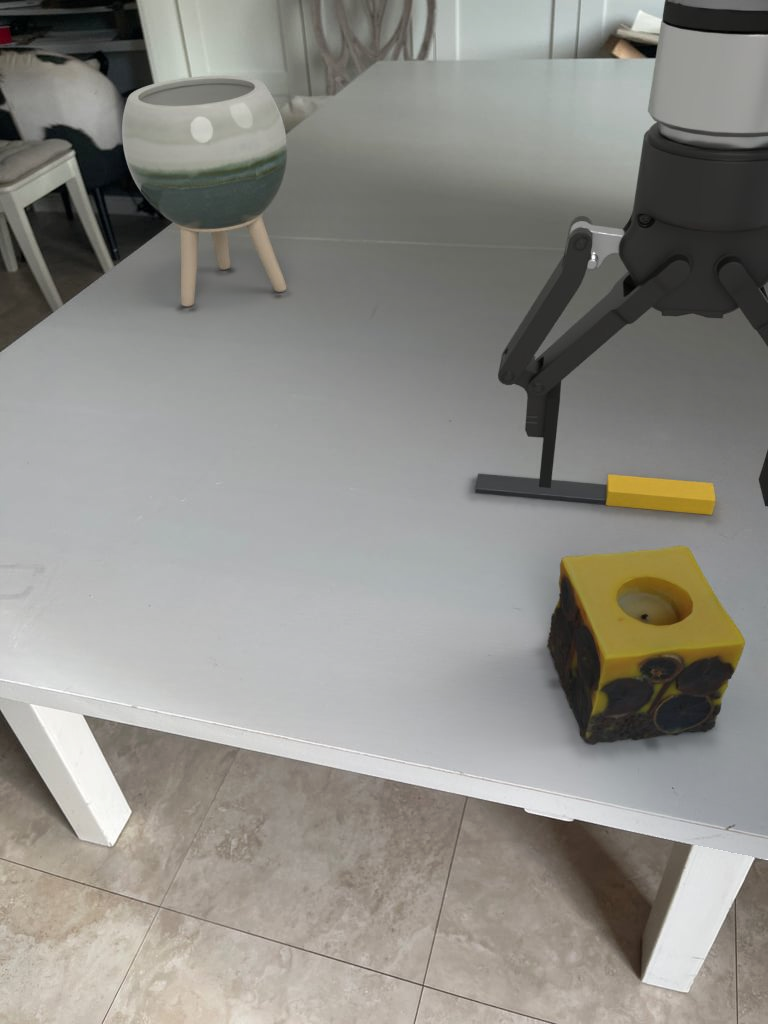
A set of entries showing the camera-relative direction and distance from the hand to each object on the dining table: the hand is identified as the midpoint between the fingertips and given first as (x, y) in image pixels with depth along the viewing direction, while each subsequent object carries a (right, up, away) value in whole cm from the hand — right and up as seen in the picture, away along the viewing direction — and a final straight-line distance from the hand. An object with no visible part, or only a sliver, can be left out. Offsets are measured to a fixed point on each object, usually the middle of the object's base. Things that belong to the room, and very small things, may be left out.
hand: (654, 484), depth 51 cm
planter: (-41, +33, +74) cm, 90 cm away
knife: (+3, 0, +30) cm, 30 cm away
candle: (+2, -15, +12) cm, 19 cm away
